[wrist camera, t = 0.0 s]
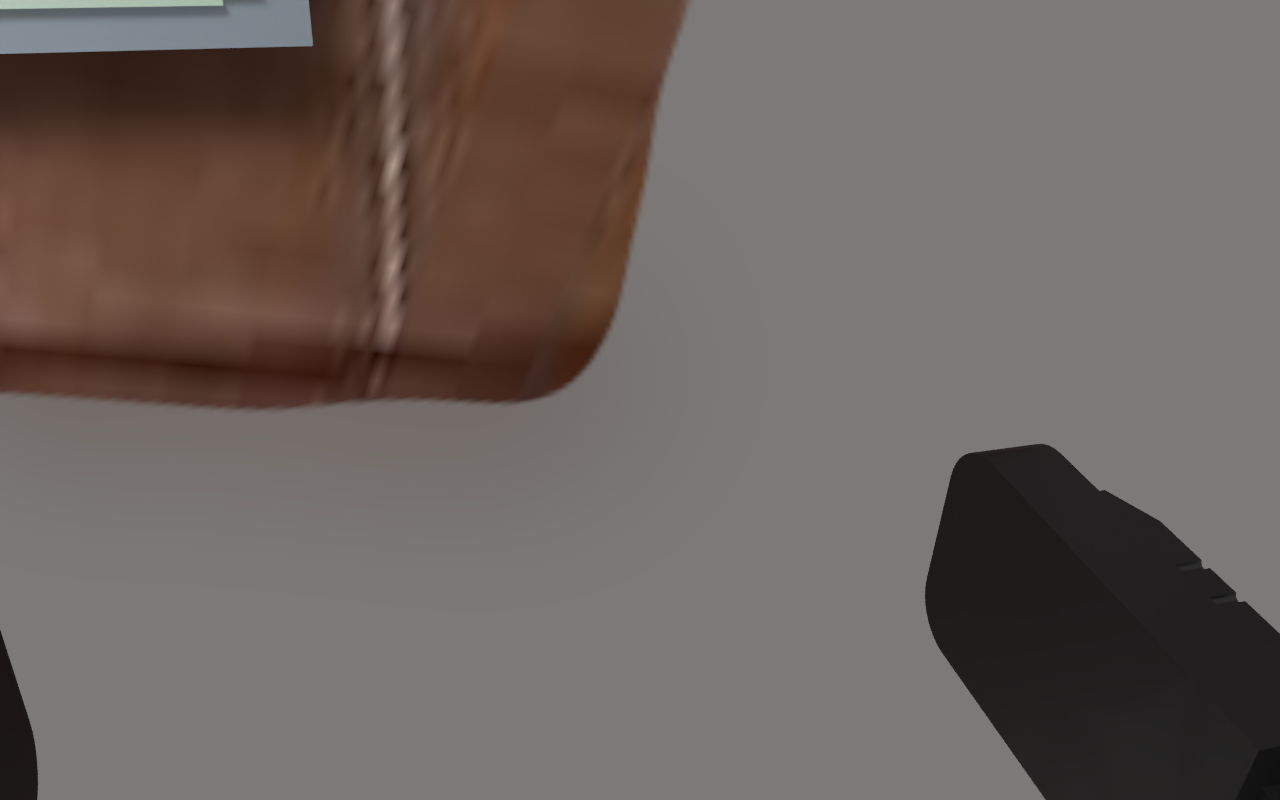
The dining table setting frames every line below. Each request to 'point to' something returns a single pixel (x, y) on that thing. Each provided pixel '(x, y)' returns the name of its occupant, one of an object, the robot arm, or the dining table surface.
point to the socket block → (151, 25)
